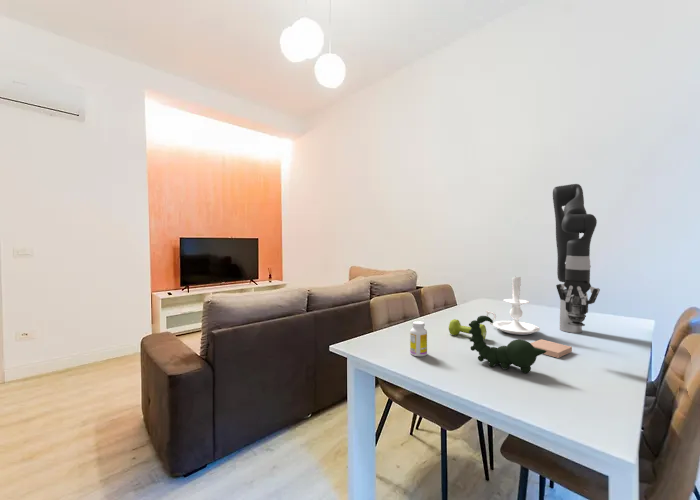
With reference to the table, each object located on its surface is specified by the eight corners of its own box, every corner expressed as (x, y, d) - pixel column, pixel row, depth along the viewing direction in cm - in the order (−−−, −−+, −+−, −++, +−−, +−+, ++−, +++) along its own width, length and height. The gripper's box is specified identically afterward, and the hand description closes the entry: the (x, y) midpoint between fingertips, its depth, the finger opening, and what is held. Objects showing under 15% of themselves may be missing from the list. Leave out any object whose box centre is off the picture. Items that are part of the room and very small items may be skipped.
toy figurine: (468, 367, 120) (545, 381, 104) (464, 317, 120) (540, 322, 104) (477, 360, 127) (550, 371, 111) (473, 312, 128) (546, 316, 111)
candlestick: (491, 323, 176) (492, 272, 175) (543, 331, 160) (545, 275, 159) (478, 331, 161) (479, 275, 160) (534, 341, 145) (535, 279, 144)
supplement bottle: (427, 352, 132) (428, 321, 131) (426, 358, 125) (426, 325, 125) (411, 350, 134) (411, 319, 133) (408, 356, 128) (409, 323, 127)
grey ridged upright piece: (589, 326, 118) (590, 294, 117) (571, 326, 119) (572, 293, 119) (581, 322, 124) (581, 291, 123) (564, 321, 125) (564, 291, 124)
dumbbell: (446, 335, 155) (447, 320, 154) (454, 332, 160) (454, 317, 160) (480, 343, 143) (481, 327, 143) (488, 339, 149) (488, 323, 149)
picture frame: (541, 339, 141) (526, 344, 134) (572, 346, 131) (558, 352, 124) (540, 344, 141) (526, 349, 134) (571, 352, 131) (558, 358, 124)
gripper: (552, 267, 124) (551, 311, 125) (596, 270, 112) (595, 318, 113) (560, 265, 128) (560, 308, 129) (604, 268, 117) (603, 315, 118)
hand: (576, 312), depth 121 cm, fingers closed on grey ridged upright piece, 4 cm apart
